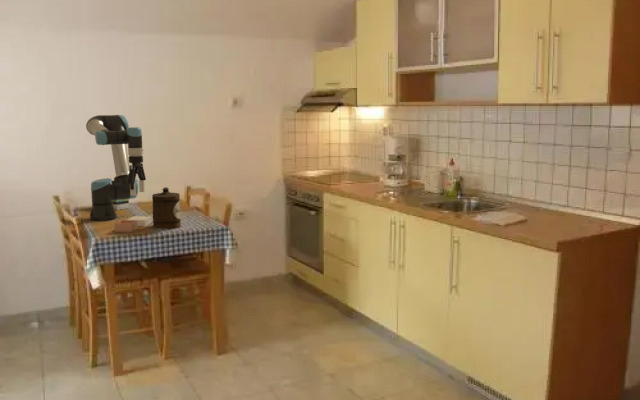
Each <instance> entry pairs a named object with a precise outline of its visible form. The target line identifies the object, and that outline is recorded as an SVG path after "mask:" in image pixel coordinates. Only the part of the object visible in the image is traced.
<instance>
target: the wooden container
mask: <svg viewBox="0 0 640 400" xmlns="http://www.w3.org/2000/svg"><path fill="white" fill-rule="evenodd" d="M180 199H181V198H180V193H179V192H170V190H169V188H168V187H167V186H166V187H163V188H162V191H161V192H157V193H153V194H152V222H153V223H152V227H153V228H155V229H159V230H160V229H161V230H166V229H167V230H173V229H178V228H180V227H181V224H182V223H181V221H182V220H181V203H180V202H181V201H180Z"/></svg>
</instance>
